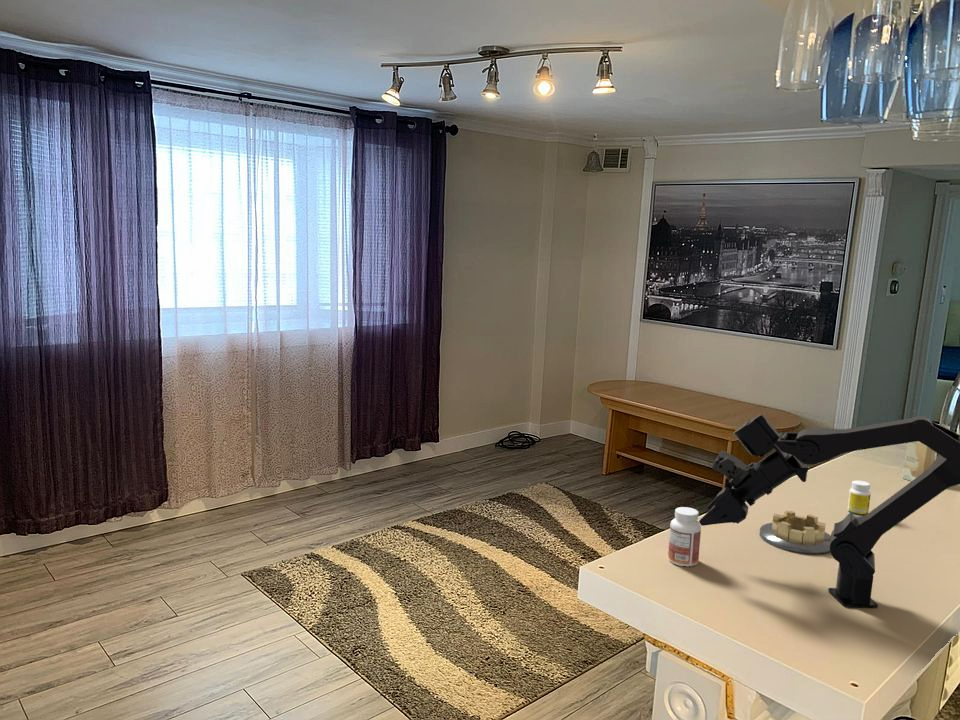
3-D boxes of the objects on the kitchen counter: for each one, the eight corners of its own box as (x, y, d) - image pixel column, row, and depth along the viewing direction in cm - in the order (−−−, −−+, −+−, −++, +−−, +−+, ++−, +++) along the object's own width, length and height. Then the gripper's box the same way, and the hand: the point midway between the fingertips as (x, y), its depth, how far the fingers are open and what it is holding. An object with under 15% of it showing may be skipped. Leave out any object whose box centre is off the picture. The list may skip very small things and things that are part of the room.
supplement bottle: (870, 519, 180) (874, 486, 178) (850, 517, 180) (853, 484, 179) (864, 512, 184) (868, 480, 183) (844, 510, 185) (848, 478, 184)
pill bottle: (688, 553, 155) (692, 504, 154) (704, 566, 150) (708, 515, 148) (662, 556, 154) (666, 506, 152) (677, 568, 148) (681, 517, 146)
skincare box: (901, 478, 214) (906, 438, 212) (910, 476, 215) (916, 437, 213) (922, 485, 208) (928, 444, 206) (932, 483, 210) (937, 442, 208)
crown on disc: (849, 555, 157) (852, 534, 157) (776, 553, 157) (779, 532, 156) (815, 527, 173) (817, 507, 172) (748, 525, 173) (750, 506, 172)
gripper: (746, 431, 151) (687, 472, 158) (733, 452, 135) (668, 497, 142) (782, 474, 149) (721, 514, 156) (773, 501, 133) (706, 544, 140)
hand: (704, 516), depth 148 cm, fingers open, 9 cm apart
